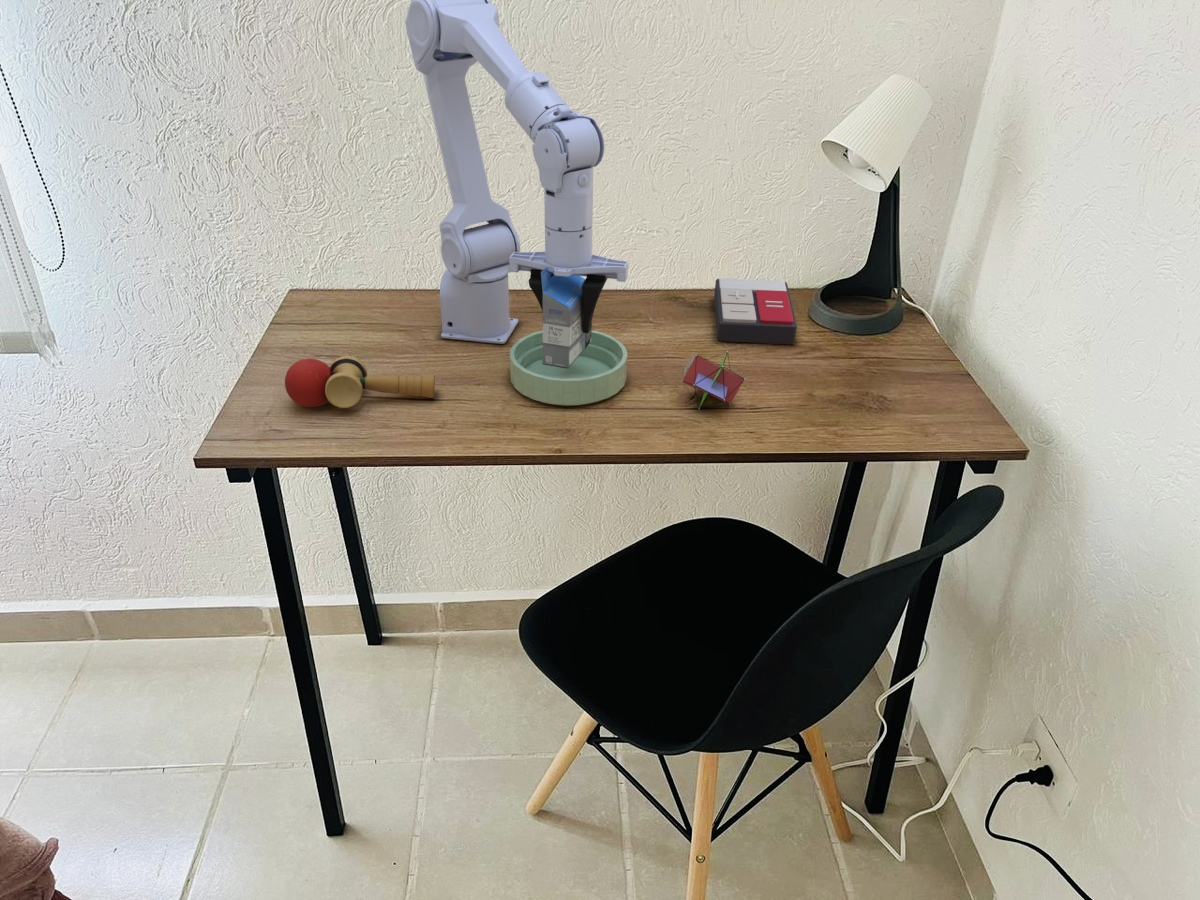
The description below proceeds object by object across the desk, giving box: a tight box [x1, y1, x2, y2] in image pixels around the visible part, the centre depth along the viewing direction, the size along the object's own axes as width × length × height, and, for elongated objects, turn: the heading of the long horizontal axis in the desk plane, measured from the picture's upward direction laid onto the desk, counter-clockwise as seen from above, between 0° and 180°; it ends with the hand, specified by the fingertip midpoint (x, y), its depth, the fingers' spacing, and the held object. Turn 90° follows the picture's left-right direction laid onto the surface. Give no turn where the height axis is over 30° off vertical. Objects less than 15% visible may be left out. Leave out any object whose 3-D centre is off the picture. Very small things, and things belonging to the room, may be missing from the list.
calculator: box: [713, 277, 798, 345], centre depth 136 cm, size 11×4×15 cm
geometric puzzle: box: [681, 350, 746, 410], centre depth 115 cm, size 7×7×8 cm
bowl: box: [509, 329, 629, 407], centre depth 120 cm, size 15×15×4 cm
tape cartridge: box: [541, 268, 593, 369], centre depth 115 cm, size 9×4×12 cm, turn 162°
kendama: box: [284, 355, 436, 409], centre depth 114 cm, size 8×6×18 cm
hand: (568, 328), depth 117 cm, fingers closed on tape cartridge, 4 cm apart
